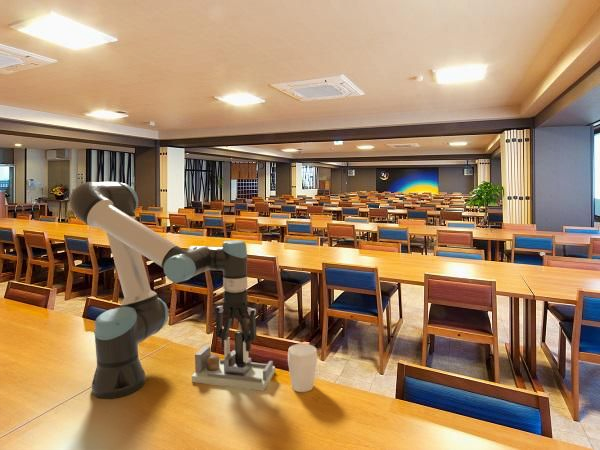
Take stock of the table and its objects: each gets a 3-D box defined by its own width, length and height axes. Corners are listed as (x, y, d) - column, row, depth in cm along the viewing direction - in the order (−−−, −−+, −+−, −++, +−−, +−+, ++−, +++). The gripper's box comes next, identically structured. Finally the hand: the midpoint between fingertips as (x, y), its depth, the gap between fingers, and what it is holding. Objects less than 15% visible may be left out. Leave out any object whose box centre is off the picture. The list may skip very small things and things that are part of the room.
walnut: (204, 370, 123) (204, 359, 123) (210, 365, 127) (210, 353, 127) (216, 372, 122) (215, 360, 122) (221, 366, 126) (221, 354, 126)
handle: (224, 374, 120) (223, 335, 119) (232, 364, 127) (232, 327, 126) (243, 376, 119) (242, 337, 117) (251, 366, 126) (250, 328, 124)
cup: (314, 396, 112) (314, 357, 111) (284, 392, 114) (284, 354, 113) (318, 380, 121) (319, 344, 120) (291, 378, 123) (291, 342, 121)
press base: (191, 381, 120) (190, 357, 119) (209, 364, 132) (208, 342, 131) (263, 390, 115) (263, 365, 114) (274, 371, 127) (274, 349, 126)
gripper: (202, 290, 119) (204, 361, 121) (259, 294, 114) (260, 367, 117) (213, 284, 126) (215, 351, 128) (267, 288, 122) (267, 356, 124)
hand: (236, 358), depth 123 cm, fingers closed on handle, 6 cm apart
